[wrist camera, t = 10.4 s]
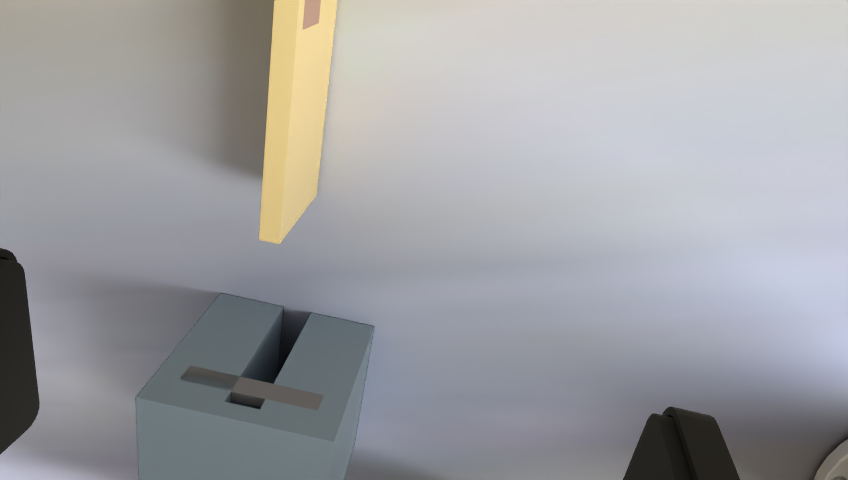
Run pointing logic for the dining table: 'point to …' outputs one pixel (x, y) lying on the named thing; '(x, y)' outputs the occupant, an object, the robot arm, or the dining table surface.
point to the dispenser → (254, 398)
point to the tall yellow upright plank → (295, 111)
